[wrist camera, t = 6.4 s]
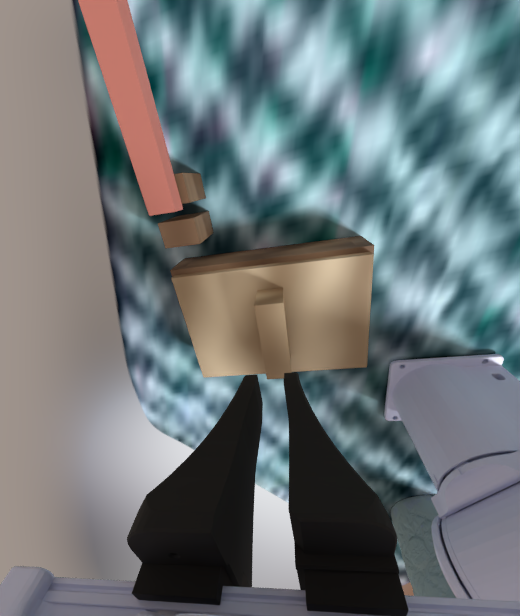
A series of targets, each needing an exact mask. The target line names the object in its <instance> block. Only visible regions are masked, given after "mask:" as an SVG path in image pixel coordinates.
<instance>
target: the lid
mask: <svg viewBox="0 0 520 616" xmlns="http://www.w3.org/2000/svg"><path fill="white" fill-rule="evenodd" d="M373 256H374V254H373V253H371V252H365V253H357V254H348V255H340V256H332V257H324V258H315V259H307V260H299V261H290V262H282V263H274V264H265V265H257V266H249V267H240V268H232V269H224V270H215V271H207V272H199V273H191V274H182V275H174V276H173V277H172V278H171V279H172V282H173V285H174V288H175V291H176V294H177V297H178V300H179V303H180V306H181V309H182V312H183V316H184V319H185V322H186V325H187V328H188V331H189V334H190V337H191V340H192V343H193V346H194V349H195V352H196V355H197V358H198V361H199V365H200V368H201V371H202V374H203V377H217V376H233V375H249V374H265V373H266V376H267V379H279V378H284V373H292V372H297V371H313V370H330V369H346V368H362V367H367V356H368V339H369V323H370V306H371V290H372V273H373Z"/></svg>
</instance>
